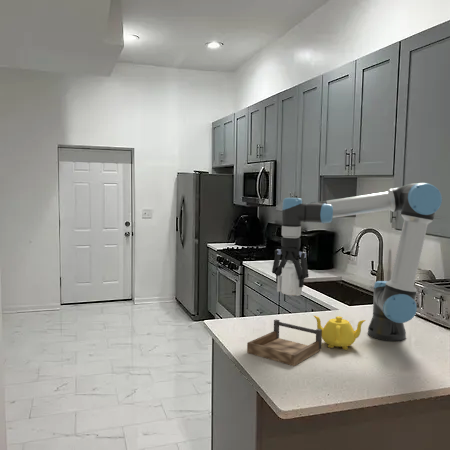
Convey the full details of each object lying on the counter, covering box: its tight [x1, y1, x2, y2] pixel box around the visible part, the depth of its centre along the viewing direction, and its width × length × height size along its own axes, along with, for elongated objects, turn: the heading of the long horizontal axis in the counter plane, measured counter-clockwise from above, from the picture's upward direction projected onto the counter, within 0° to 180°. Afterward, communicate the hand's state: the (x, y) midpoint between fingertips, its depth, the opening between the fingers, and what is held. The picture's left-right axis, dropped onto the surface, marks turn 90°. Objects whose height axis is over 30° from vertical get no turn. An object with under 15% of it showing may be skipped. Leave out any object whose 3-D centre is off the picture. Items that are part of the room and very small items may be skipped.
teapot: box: [313, 315, 366, 351], centre depth 180 cm, size 20×15×12 cm
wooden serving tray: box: [246, 319, 323, 367], centre depth 173 cm, size 20×20×8 cm
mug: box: [281, 265, 298, 296], centre depth 183 cm, size 12×8×10 cm
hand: (289, 293), depth 184 cm, fingers closed on mug, 8 cm apart
